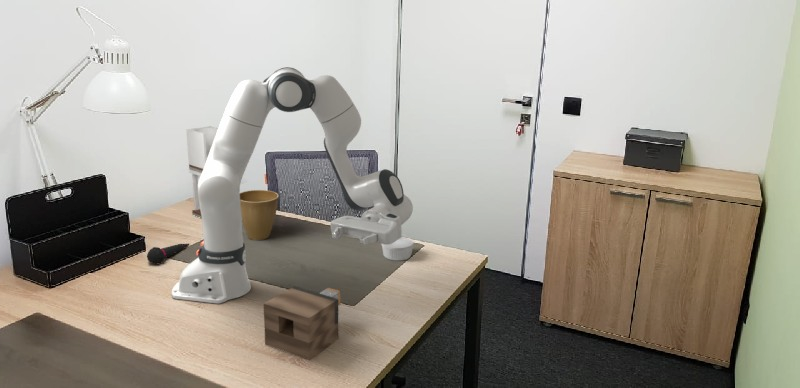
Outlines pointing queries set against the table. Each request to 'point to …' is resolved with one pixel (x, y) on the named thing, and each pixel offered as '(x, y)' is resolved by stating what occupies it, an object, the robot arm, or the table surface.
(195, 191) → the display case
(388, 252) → the ramekin
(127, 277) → the table surface
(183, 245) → the microphone
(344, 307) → the table surface
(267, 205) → the plant pot
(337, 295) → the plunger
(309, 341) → the block
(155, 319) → the table surface
